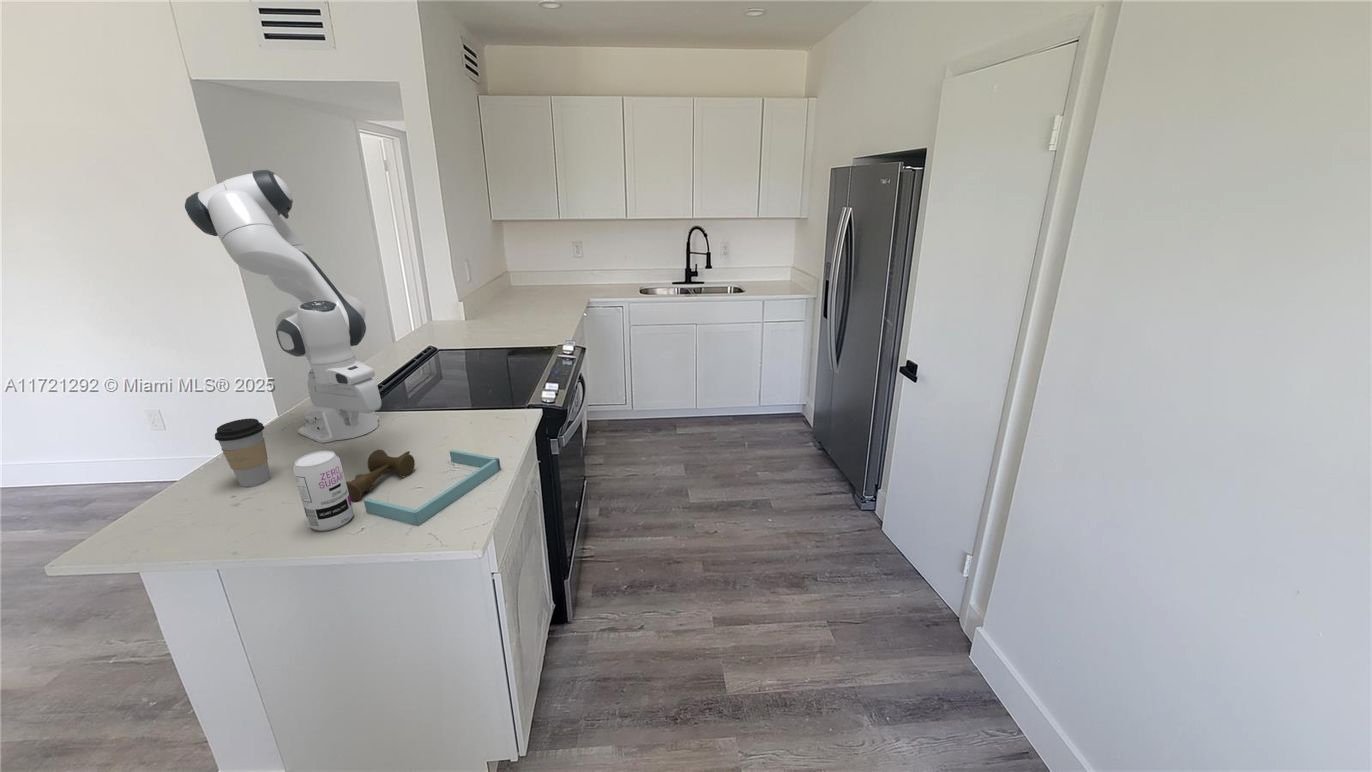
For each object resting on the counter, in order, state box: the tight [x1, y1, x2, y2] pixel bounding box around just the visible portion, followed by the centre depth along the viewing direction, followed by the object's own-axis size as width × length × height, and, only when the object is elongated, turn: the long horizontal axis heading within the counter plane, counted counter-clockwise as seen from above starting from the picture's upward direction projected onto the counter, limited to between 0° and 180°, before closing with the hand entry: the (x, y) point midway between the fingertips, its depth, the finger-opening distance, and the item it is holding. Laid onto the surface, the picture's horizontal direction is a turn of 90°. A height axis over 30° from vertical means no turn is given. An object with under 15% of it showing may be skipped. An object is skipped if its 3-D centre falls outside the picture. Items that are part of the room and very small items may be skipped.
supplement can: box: [292, 450, 355, 532], centre depth 115 cm, size 8×8×15 cm
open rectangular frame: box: [363, 449, 502, 526], centre depth 129 cm, size 15×26×3 cm, turn 158°
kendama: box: [345, 449, 416, 502], centre depth 133 cm, size 6×10×20 cm
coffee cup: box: [214, 418, 271, 488], centre depth 133 cm, size 9×9×15 cm
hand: (351, 425), depth 133 cm, fingers closed
